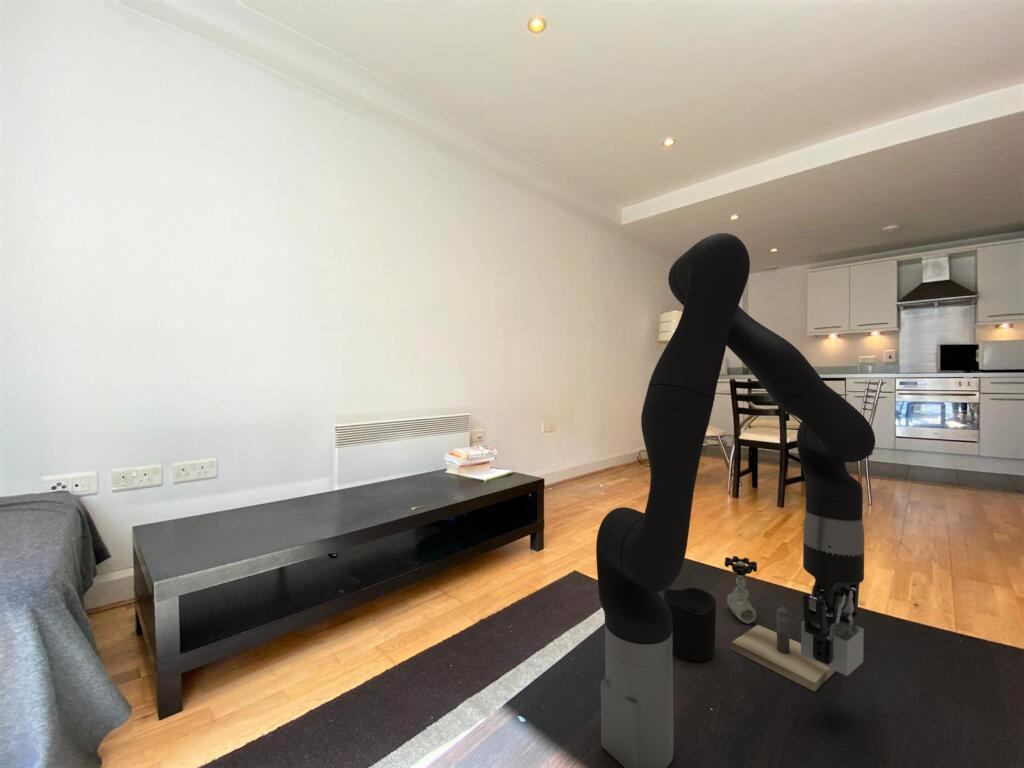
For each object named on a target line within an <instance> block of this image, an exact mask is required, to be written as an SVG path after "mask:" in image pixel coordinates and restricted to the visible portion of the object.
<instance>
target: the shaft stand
mask: <svg viewBox="0 0 1024 768" xmlns="http://www.w3.org/2000/svg"><path fill="white" fill-rule="evenodd" d="M731 651H733V652H736V653H737V654H739V655H741V656H743V657H745V658H747V659H749V660H751V661H753V662H755V663H757V664H759V665H762V666H763V667H765V668H767V669H769V670H771V671H773V672H775V673H777V674H779V675H781V676H783V677H784V678H787V679H789V680H791V681H793V682H795V684H798V685H801V686H802V687H805V688H806V689H809V690H810V691H813V692H816V691H817V690H818V689H819V688H820V687H821V686H822V685H823V684H824V683H826V681H827V680H828V679H829V678H830V677H831V676H833V674H834V673H835V672H836V671H835V670H833V669H831V668H829V667H827V666H824V665H822V664H820V663H818V662H816V661H814V660H812V659H809V658H807V657H805V656H803V655H801V642H799V641H796V640H794V639H791V637H790V612H789V610H788V609H787V608H786V607H784V606H779V607H778V608H776V631H773V630H771V629H769V628H766V627H765V626H762V625H759V624H757V625H755V626H753V627H752V628H750V629H749V630H748V631H746V632H745V633H743V634H742V635H740V636H739V637H737V638H736V639H734V640H733V641H731Z"/></svg>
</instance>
